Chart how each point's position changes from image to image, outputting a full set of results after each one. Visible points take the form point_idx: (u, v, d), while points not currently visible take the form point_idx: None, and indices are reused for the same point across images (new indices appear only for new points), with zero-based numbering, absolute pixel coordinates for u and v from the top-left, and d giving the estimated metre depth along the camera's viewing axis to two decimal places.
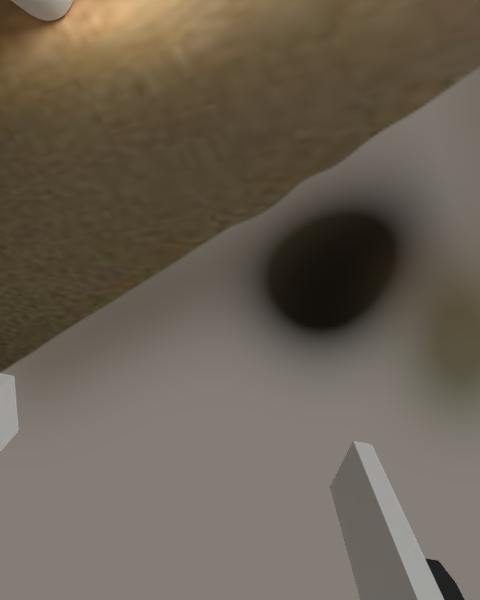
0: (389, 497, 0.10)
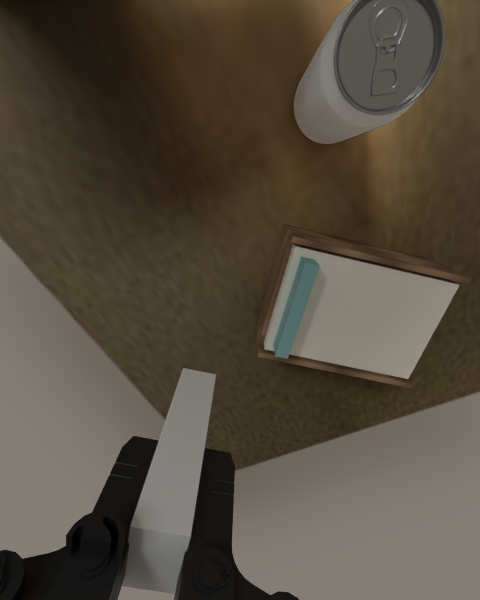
0: (203, 407, 0.11)
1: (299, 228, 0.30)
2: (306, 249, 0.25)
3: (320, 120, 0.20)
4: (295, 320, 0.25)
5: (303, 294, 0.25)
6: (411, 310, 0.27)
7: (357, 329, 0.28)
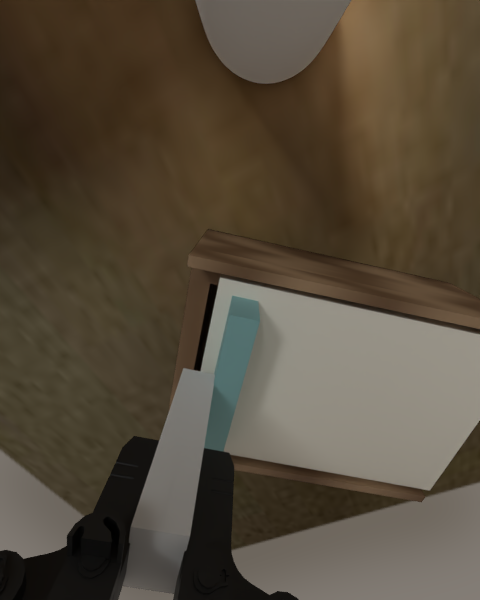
0: (203, 407, 0.11)
1: (234, 235, 0.18)
2: (241, 282, 0.13)
3: None
4: (221, 417, 0.13)
5: (232, 372, 0.12)
6: (439, 388, 0.15)
7: (343, 417, 0.16)
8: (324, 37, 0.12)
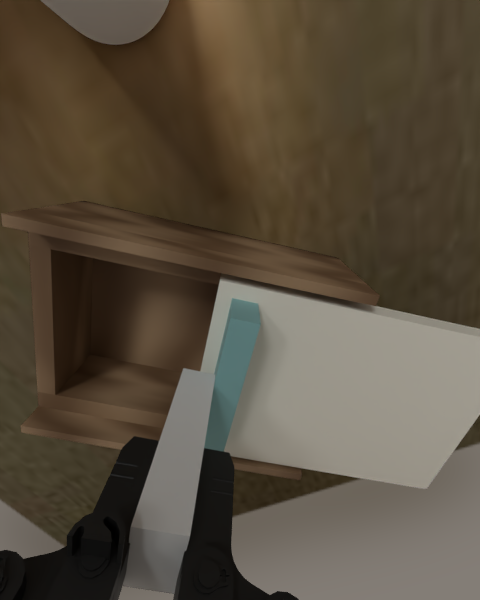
0: (203, 407, 0.11)
1: (111, 207, 0.18)
2: (241, 285, 0.13)
3: None
4: (221, 419, 0.13)
5: (232, 375, 0.12)
6: (437, 389, 0.15)
7: (341, 418, 0.16)
8: None
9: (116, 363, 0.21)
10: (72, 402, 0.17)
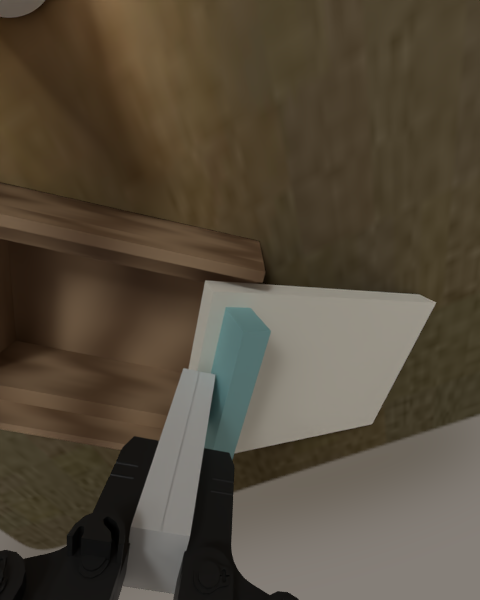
0: (203, 407, 0.11)
1: (24, 188, 0.18)
2: (234, 292, 0.13)
3: None
4: (232, 428, 0.13)
5: (243, 385, 0.12)
6: (382, 347, 0.19)
7: (317, 390, 0.18)
8: None
9: (42, 349, 0.21)
10: None
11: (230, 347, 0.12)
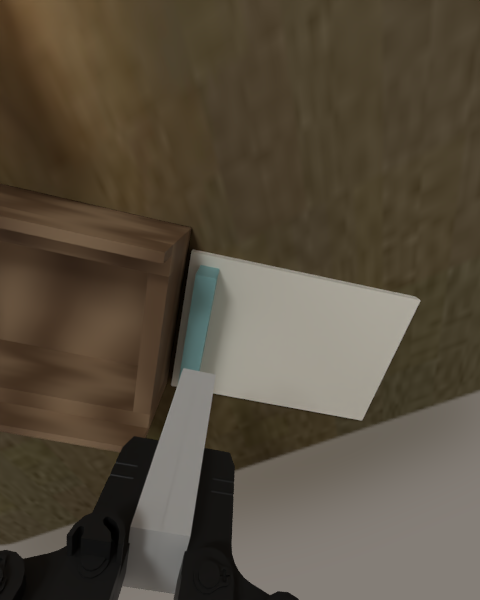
0: (203, 407, 0.11)
1: None
2: (207, 255, 0.18)
3: None
4: (194, 352, 0.19)
5: (200, 317, 0.18)
6: (358, 334, 0.20)
7: (289, 359, 0.21)
8: None
9: None
10: None
11: None
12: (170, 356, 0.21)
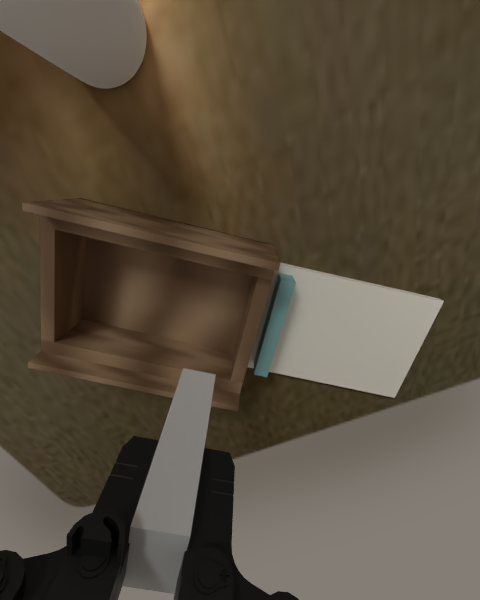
0: (203, 407, 0.11)
1: (101, 203, 0.24)
2: (284, 265, 0.25)
3: None
4: (272, 338, 0.25)
5: (280, 311, 0.24)
6: (394, 327, 0.26)
7: (339, 346, 0.27)
8: (112, 57, 0.17)
9: (103, 326, 0.27)
10: (66, 348, 0.23)
11: (276, 290, 0.24)
12: None
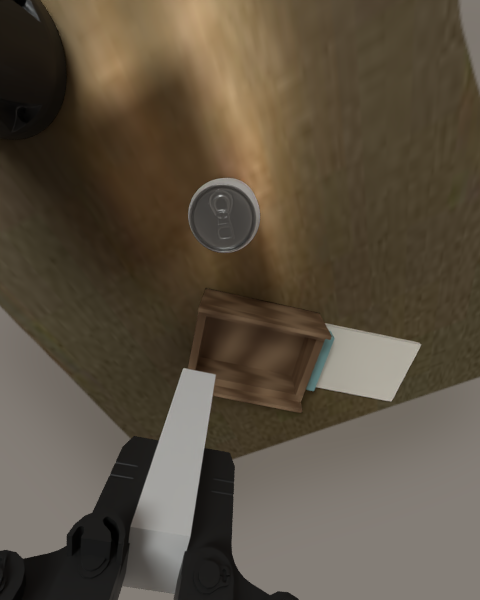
0: (203, 407, 0.11)
1: None
2: None
3: None
4: (319, 368, 0.41)
5: (324, 353, 0.40)
6: (391, 359, 0.43)
7: (357, 371, 0.44)
8: None
9: (212, 361, 0.43)
10: None
11: None
12: None
